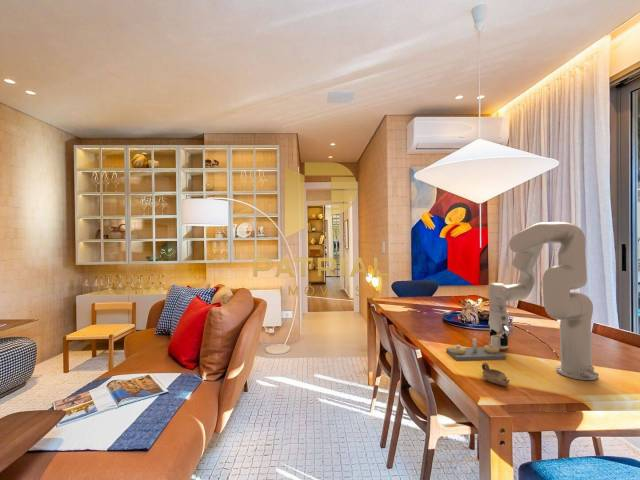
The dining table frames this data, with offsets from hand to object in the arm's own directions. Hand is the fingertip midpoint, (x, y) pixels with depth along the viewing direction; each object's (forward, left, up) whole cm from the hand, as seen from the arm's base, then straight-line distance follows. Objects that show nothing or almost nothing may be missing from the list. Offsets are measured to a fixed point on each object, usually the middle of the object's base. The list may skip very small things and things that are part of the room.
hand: (498, 342), depth 159 cm
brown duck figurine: (-37, +22, -2) cm, 43 cm away
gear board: (-10, +16, -2) cm, 19 cm away
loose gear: (0, 0, -2) cm, 2 cm away
